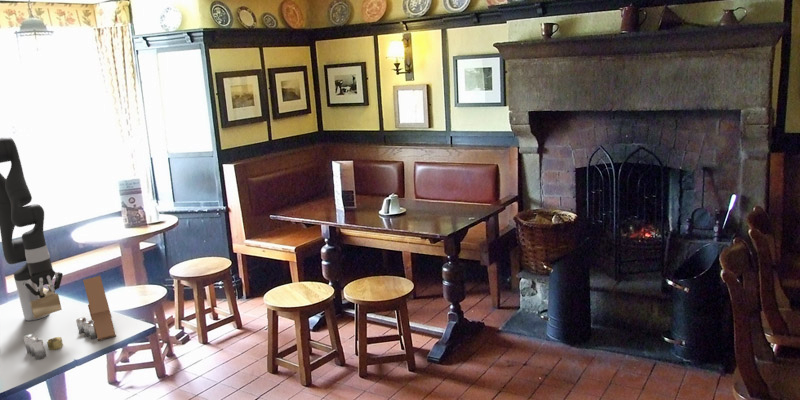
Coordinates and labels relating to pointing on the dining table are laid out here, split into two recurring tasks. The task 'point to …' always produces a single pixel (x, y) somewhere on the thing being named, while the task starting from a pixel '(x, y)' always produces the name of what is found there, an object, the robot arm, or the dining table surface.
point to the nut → (55, 343)
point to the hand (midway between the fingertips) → (48, 302)
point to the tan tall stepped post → (99, 308)
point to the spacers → (37, 345)
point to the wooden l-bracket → (45, 304)
